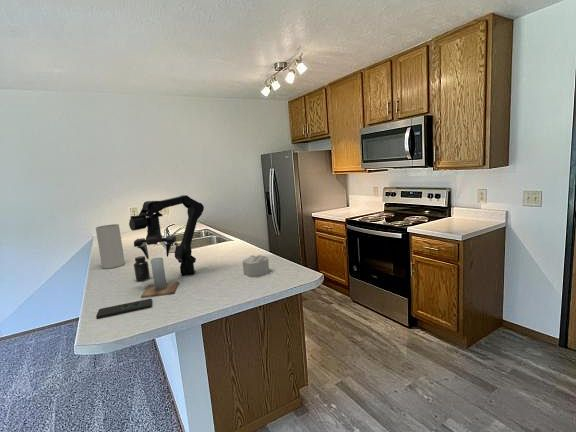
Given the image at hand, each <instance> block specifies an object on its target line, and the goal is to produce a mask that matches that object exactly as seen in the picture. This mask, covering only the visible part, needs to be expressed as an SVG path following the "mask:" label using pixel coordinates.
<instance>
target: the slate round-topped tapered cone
mask: <svg viewBox="0 0 576 432" xmlns="http://www.w3.org/2000/svg"><path fill="white" fill-rule="evenodd" d="M150 264H151V265H150V266H151V272H152V279H153V285H154V286H155V290H163V289H165V288H167V285H166V283H167V279H166V272H165V265H164V258H163V257H155V258H152V259H150Z"/></svg>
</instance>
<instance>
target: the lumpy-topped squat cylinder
mask: <svg viewBox="0 0 576 432" xmlns="http://www.w3.org/2000/svg"><path fill="white" fill-rule="evenodd" d="M242 270H243V275H244V276H247V277H248V278H257V277H261V276H264V275H267V274H268V273H270V265H269V256H267V255H266V256H265V255H261V254H258V255H253V254H252V255H250V256H249V257H247V258H245V259H243V260H242Z"/></svg>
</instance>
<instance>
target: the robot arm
mask: <svg viewBox="0 0 576 432" xmlns="http://www.w3.org/2000/svg"><path fill="white" fill-rule="evenodd" d="M179 205H183V206H184V207H185V208H187V217H188V218H187V221H186V224H185V229H184V232H183V236H182V240H181V243H180V244H179V245H176V246H175V250H174V251H173V253H174V258H175V259H176V260H177V261H178V263H180V265H179V270H180V275H181V277H184V276H193V275H195V272H196V270H195V264H194V263H196V262H197V261H196V260H197V258H196V257H195V256H193V255H192V242H193V238H194V234H195V230H196V226H197V223H198V220H199V218H201V216H202V214H203V212H204V210H205V206H204V205H203V203H201V202H199V201H197V200H196V199H194V198H191V197H190V196H188V194H187V195H184V194H183V195H180V196H175V197H172V198H171V197H170V198H165V199H162V200H146V201H144V202H143V204H142V208H141V210H140V212H139V214H138V215H130V216H129V217H130V219H129V223H128V225H129V229H130V230H131V231H132V232H134V231H139V230H144V229H146V228H147V229H146V230H147V231H146V232H147V234H146V236H145V238H144V237H143V238H136V239H135V240H134V241H133V246H134V248H136V247H137V249H140V250H141V251H142V252H143V254H144V256H145V259H147V260H149V250H148V247H147V246H151V245H158V243H165V242H166V244H165V247H166V248H165V249H166V251H165V252H166V253H165V254H166V257H167V258H168V257H169V254H170V250H171V247H172V245H173V244H174V243H176V242H177V236H176V235H175V234H174V235H166V237H163V236H162V232H161V225H160V217H163V215H164V214H162V213H161V211H163V210H164V209H166V208H170V207H174V206H179Z"/></svg>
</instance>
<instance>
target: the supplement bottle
mask: <svg viewBox="0 0 576 432" xmlns="http://www.w3.org/2000/svg"><path fill="white" fill-rule="evenodd" d="M146 259H147V258H146V256H145V255H140V256H137V257H134V264H133V268H134V269H133V270H134V276H135V281H137V282H145V281H148V280H149V279H150V278H151V274H150V273H151V272H150V268H149V262H148V261H146Z"/></svg>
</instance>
